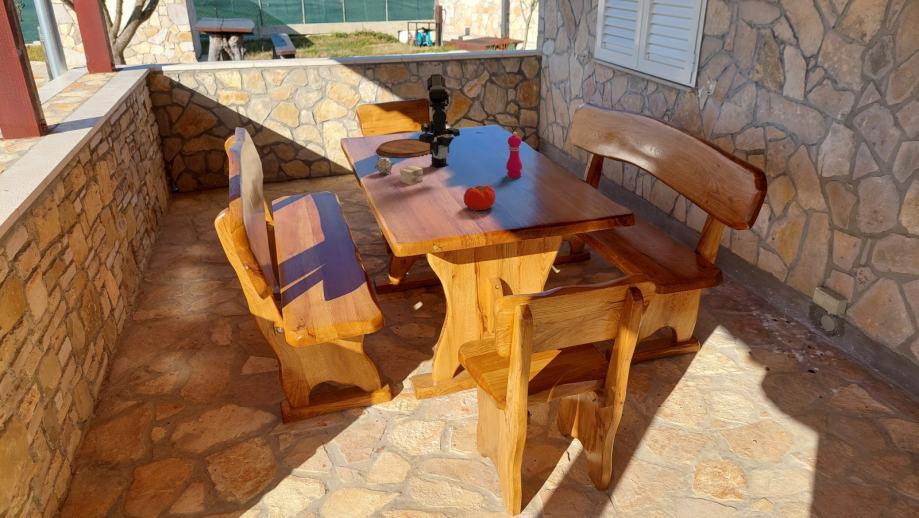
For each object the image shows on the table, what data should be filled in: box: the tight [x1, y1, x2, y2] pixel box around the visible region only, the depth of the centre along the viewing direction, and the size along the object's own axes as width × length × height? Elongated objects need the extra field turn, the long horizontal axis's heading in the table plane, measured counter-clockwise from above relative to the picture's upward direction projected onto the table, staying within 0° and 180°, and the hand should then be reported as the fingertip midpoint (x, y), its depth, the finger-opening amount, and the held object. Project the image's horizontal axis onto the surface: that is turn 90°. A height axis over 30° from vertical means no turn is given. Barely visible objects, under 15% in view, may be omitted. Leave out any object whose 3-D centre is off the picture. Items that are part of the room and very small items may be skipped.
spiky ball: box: [374, 156, 395, 176], centre depth 290 cm, size 9×8×10 cm
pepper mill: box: [505, 131, 523, 179], centre depth 279 cm, size 7×7×20 cm
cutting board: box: [376, 138, 433, 159], centre depth 329 cm, size 32×32×2 cm
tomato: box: [463, 184, 496, 211], centre depth 245 cm, size 13×12×8 cm
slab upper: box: [399, 165, 424, 179], centre depth 278 cm, size 7×7×3 cm
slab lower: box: [399, 175, 423, 186], centre depth 280 cm, size 7×7×3 cm
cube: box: [433, 145, 449, 159], centre depth 274 cm, size 4×4×4 cm
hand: (440, 154), depth 274 cm, fingers closed on cube, 4 cm apart
